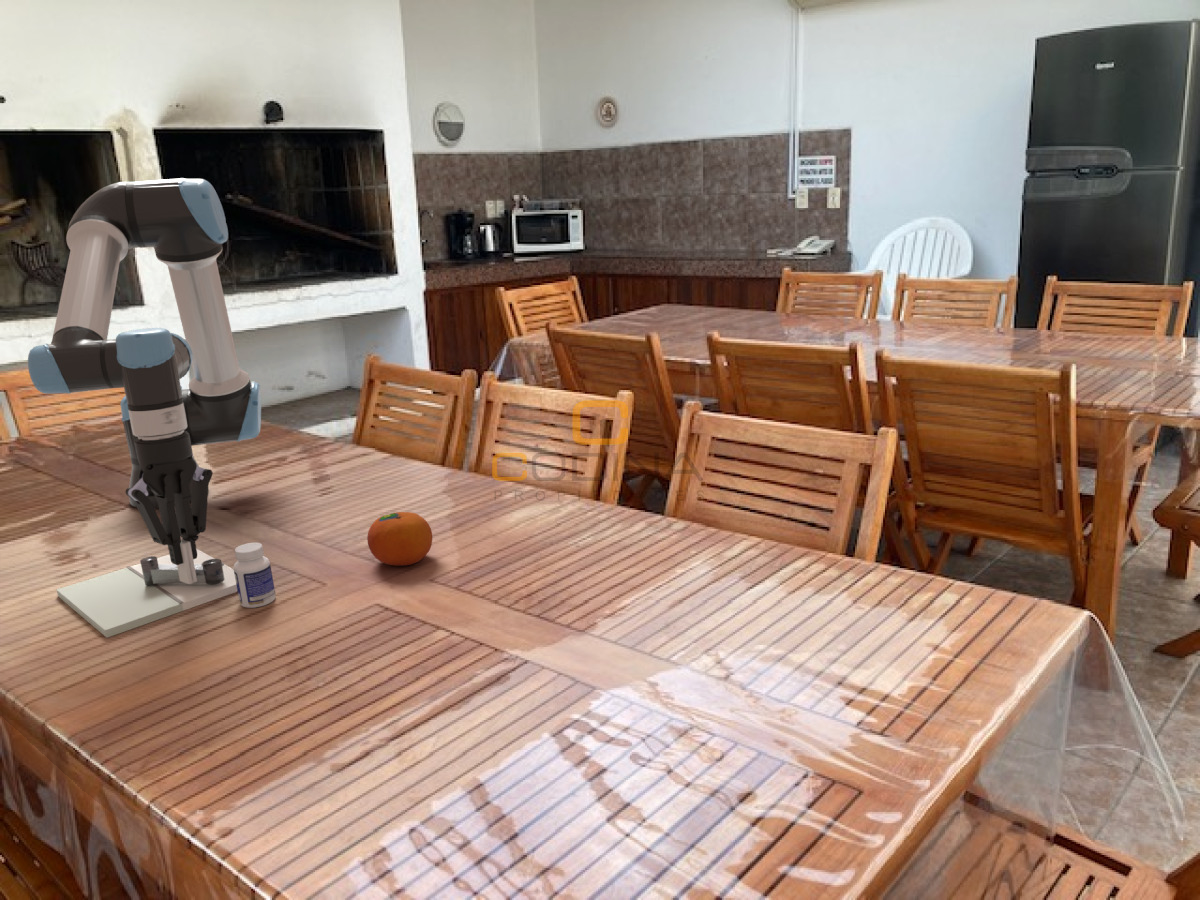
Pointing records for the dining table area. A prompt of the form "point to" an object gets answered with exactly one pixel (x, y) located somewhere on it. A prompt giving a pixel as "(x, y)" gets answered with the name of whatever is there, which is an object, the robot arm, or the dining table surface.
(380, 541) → the fruit
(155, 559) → the swing bar
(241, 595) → the pill bottle
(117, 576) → the door board
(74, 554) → the dining table surface
